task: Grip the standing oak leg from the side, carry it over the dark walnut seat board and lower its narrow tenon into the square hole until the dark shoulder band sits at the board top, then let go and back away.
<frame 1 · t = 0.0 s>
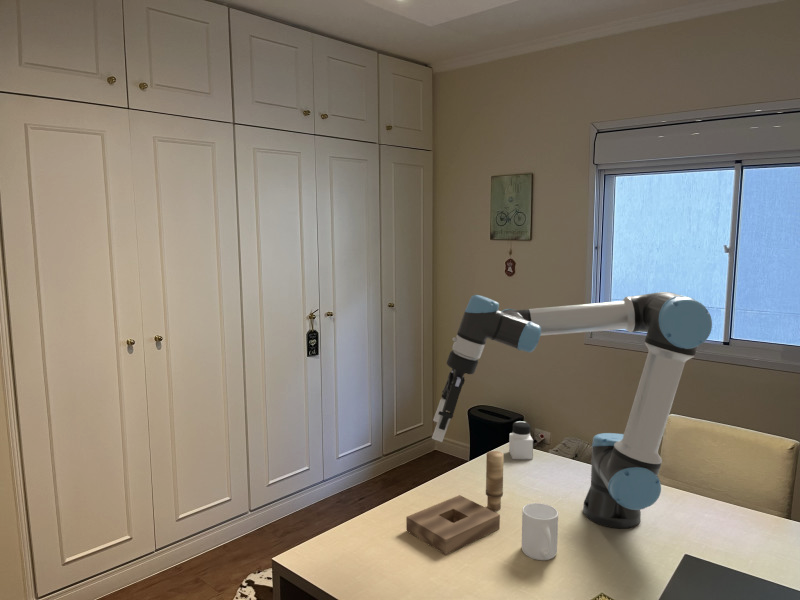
hand: (437, 430, 151), 28 cm above the table, tool tilted 20°, fingers open, 13 cm apart
medicine bottle: (520, 456, 206), on the table
seat board: (453, 529, 155), on the table
oak leg: (493, 507, 168), on the table
mug: (541, 556, 143), on the table
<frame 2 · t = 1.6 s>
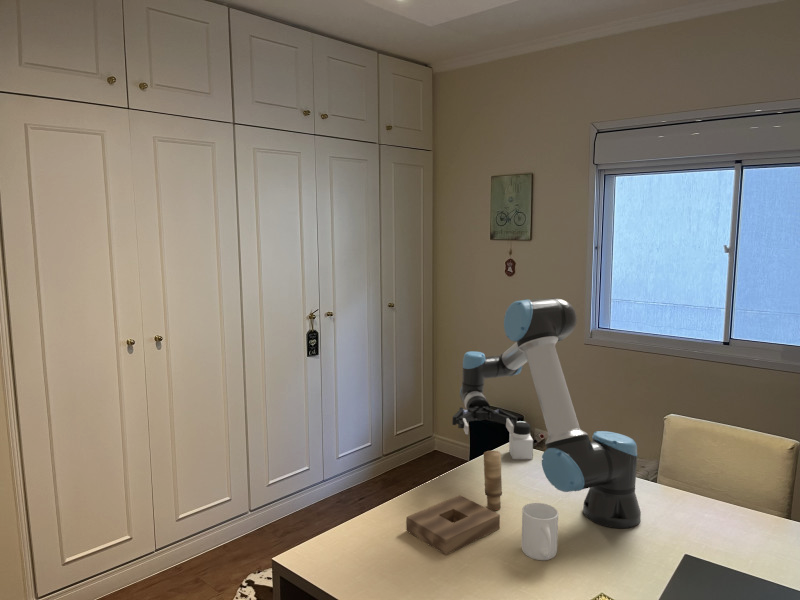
hand: (489, 430, 173), 20 cm above the table, tool horizontal, fingers open, 13 cm apart
nothing on the table moved.
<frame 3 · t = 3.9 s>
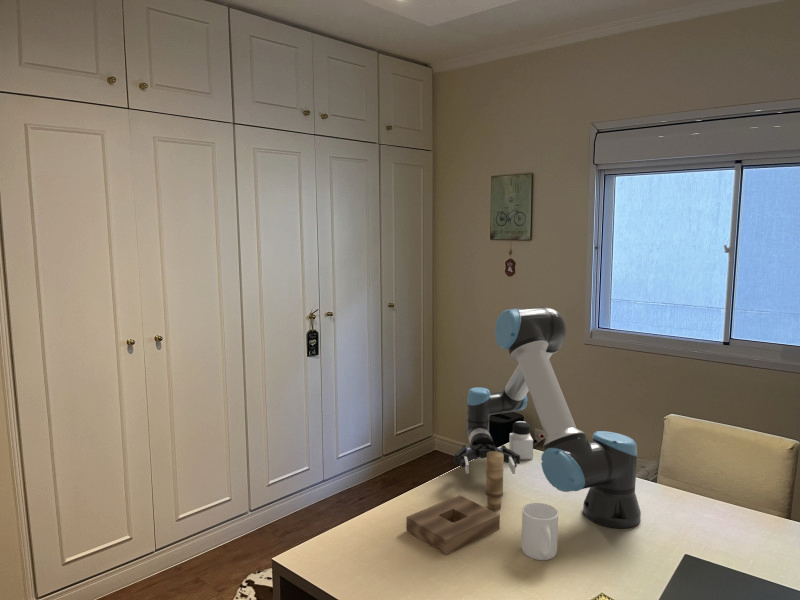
hand: (490, 469, 171), 9 cm above the table, tool horizontal, fingers open, 13 cm apart
nothing on the table moved.
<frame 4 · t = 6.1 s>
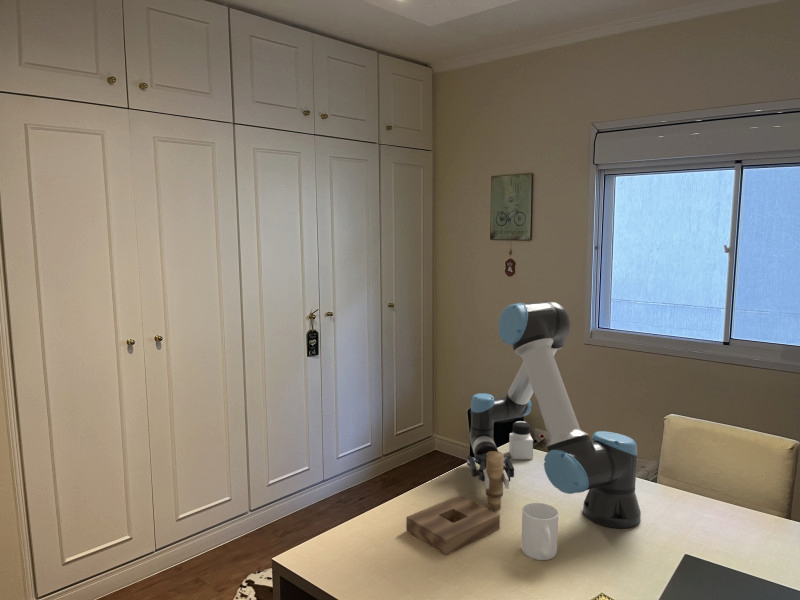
hand: (497, 484, 161), 10 cm above the table, tool horizontal, fingers closed on oak leg, 5 cm apart
oak leg: (493, 507, 168), on the table, touching gripper
everything else where it was.
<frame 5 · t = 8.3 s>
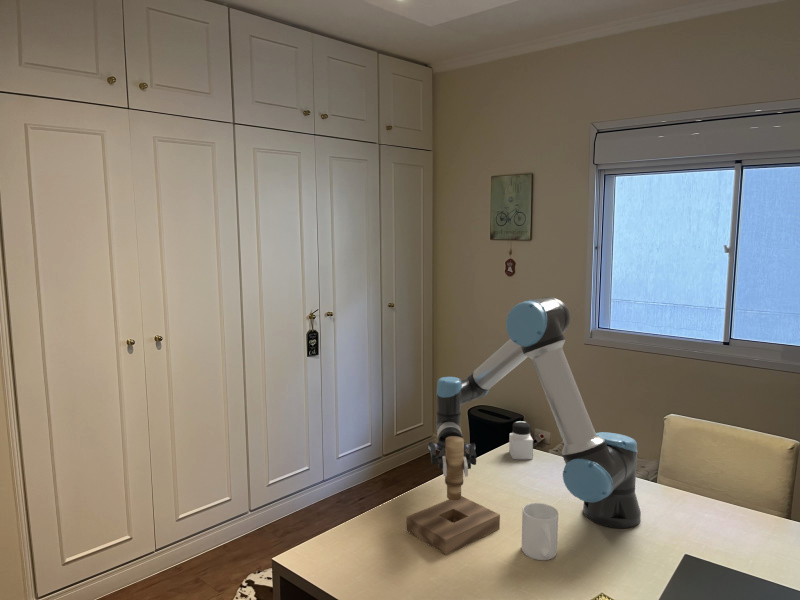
hand: (455, 471, 149), 18 cm above the table, tool horizontal, fingers closed on oak leg, 5 cm apart
oak leg: (453, 497, 155), point 9 cm above the table, touching gripper
everything else where it was.
when the fingers open (10 cm above the table, at t = 10.6 s): oak leg stays where it is, resting in seat board.
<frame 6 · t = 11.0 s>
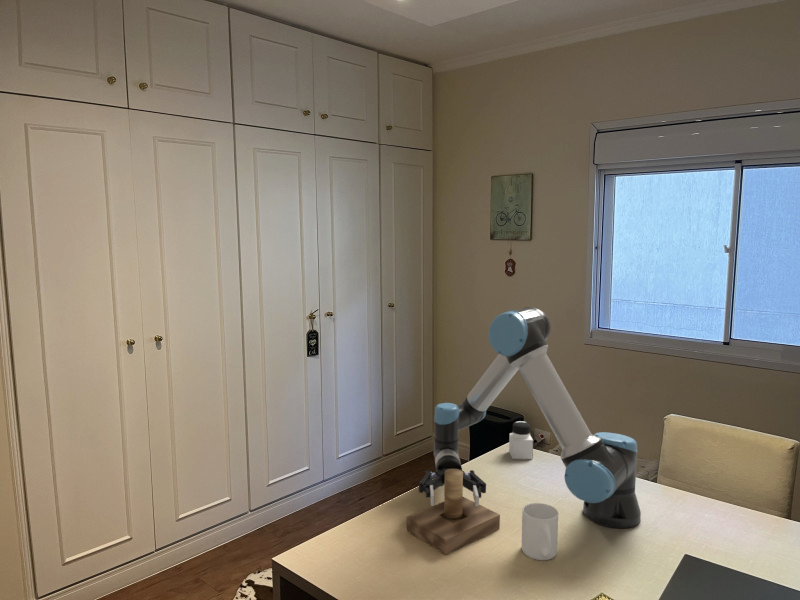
hand: (454, 501, 150), 10 cm above the table, tool horizontal, fingers open, 11 cm apart
oak leg: (453, 529, 155), resting in seat board
everything else where it was.
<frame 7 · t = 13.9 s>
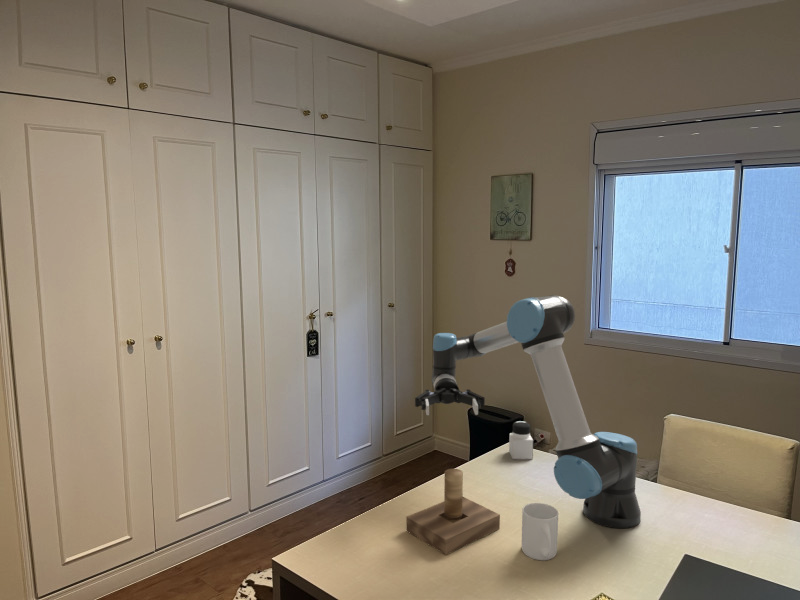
hand: (452, 410, 161), 30 cm above the table, tool horizontal, fingers open, 13 cm apart
nothing on the table moved.
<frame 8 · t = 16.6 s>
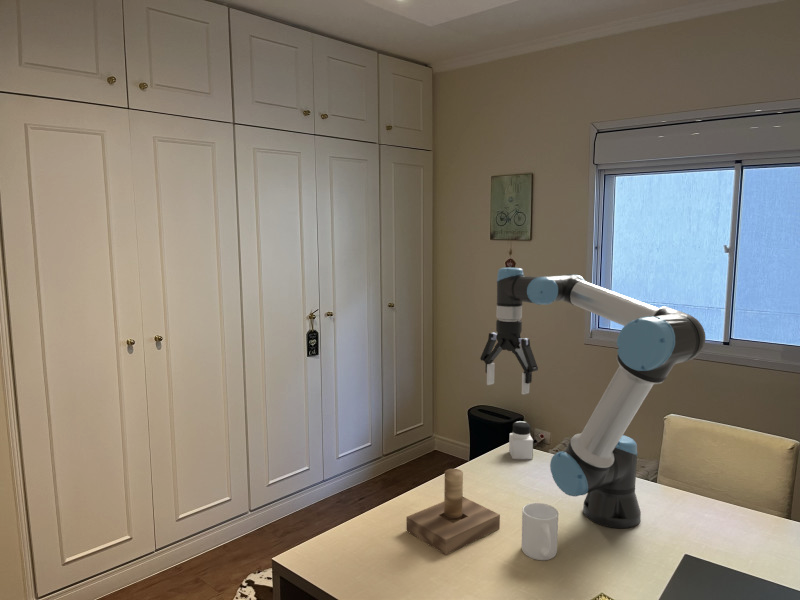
hand: (507, 388, 176), 32 cm above the table, tool pointing down, fingers open, 13 cm apart
nothing on the table moved.
at the end: oak leg 0.1 cm off-centre on the seat board, point 0.0 cm above the seat board's base; oak leg tilted 0°; the gripper is holding nothing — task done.
